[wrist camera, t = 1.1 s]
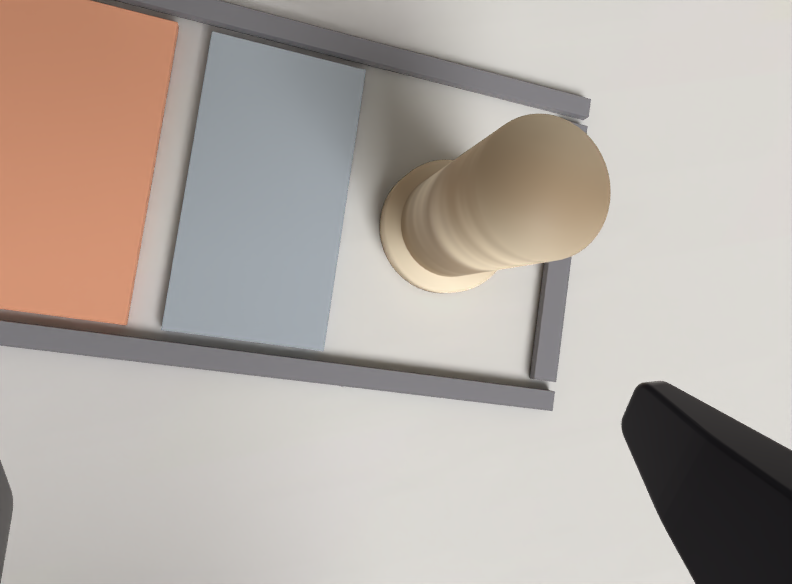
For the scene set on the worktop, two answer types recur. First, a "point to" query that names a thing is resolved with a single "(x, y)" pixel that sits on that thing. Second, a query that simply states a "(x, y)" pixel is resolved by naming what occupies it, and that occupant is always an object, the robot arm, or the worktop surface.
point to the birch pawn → (497, 206)
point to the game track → (207, 187)
